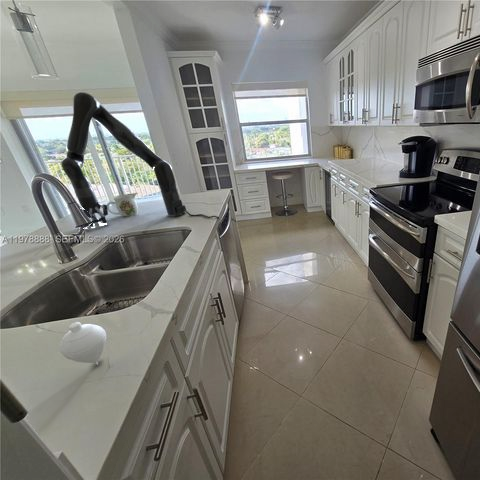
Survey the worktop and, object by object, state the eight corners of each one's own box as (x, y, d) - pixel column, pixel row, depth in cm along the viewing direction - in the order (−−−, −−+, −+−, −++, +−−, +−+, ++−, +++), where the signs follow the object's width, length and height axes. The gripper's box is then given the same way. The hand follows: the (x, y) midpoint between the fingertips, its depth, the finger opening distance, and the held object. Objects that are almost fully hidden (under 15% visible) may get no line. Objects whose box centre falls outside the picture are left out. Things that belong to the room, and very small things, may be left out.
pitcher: (112, 217, 166) (103, 196, 160) (144, 211, 175) (137, 191, 169) (111, 221, 158) (102, 200, 152) (145, 215, 167) (138, 194, 161)
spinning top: (68, 373, 58) (41, 333, 53) (104, 348, 64) (83, 309, 59) (89, 383, 55) (63, 342, 50) (124, 355, 61) (104, 316, 56)
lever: (103, 221, 146) (102, 218, 145) (93, 224, 143) (92, 221, 141) (90, 210, 149) (89, 206, 148) (79, 212, 145) (79, 209, 144)
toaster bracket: (107, 225, 151) (99, 206, 146) (89, 231, 144) (80, 211, 139) (97, 223, 156) (89, 204, 152) (79, 228, 149) (70, 209, 144)
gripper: (72, 199, 131) (87, 230, 138) (104, 192, 142) (116, 221, 149) (66, 198, 134) (80, 228, 141) (98, 192, 145) (110, 220, 152)
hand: (99, 224), depth 145 cm, fingers closed on lever, 5 cm apart
